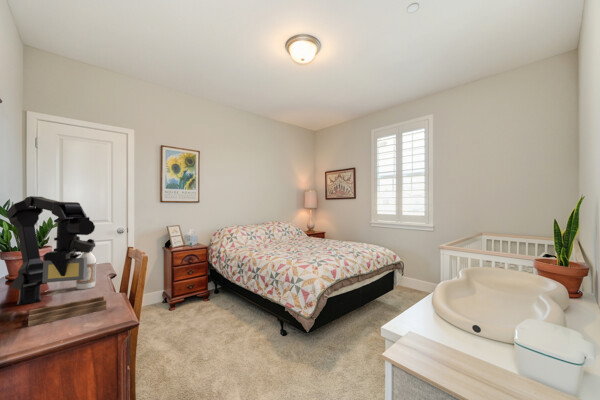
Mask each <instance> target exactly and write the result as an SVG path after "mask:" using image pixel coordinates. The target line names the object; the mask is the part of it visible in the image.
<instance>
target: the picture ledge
mask: <svg viewBox="0 0 600 400" xmlns="http://www.w3.org/2000/svg"><path fill="white" fill-rule="evenodd" d="M104 298H105V297H104V295H103V296H98V297H92V298H87V299H83V300H77V301H72V302H65V303H60V304H56V305H50V306H45V307H41V308H40V307H39V308H35V309H29V310H28V311H29V312H28V314H29V315H28V320H27V321H28V322H27V323H28V324H27V327H28V328H29V327H32V326H33V327H34V326H38V325H42V324H45V323H51V322H55V321H60V320H63V319H65V320H66V319H68V318H73V317H79V316H83V315H87V314H91V313H95V312H100V311H104V310H107V300H106V299H104Z"/></svg>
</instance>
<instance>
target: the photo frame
mask: <svg viewBox="0 0 600 400" xmlns="http://www.w3.org/2000/svg"><path fill="white" fill-rule="evenodd" d="M42 261H43V260H42ZM86 273H87V258H80V257H77V258H72V259H71V260H70V261H69V262H68V266H67V271H66V275H65V276H61V275H60V273H59V272H58V270H57V269H56V267H55V266H54V264H53V263H52V262H51V261H43V281H42V283H47V284H48V283H59V282H72V281H76V280H83V279H85V278H86Z"/></svg>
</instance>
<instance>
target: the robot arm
mask: <svg viewBox="0 0 600 400" xmlns="http://www.w3.org/2000/svg"><path fill="white" fill-rule="evenodd" d="M44 210H46V211H49V212H51V214H52V215H54V216H55V217H57V218H56V219H54V220H53V223H56V224H57V225H56V237H54V238H53V241H56V243H55V244H56V245H55V248H53V250H52V251H48V252H45V254H43V256H42V259H41V254H40V250H39V243H38V238H37V234H36V233H37V232H36V224H37V223H38V221H39V219H40V215H41V214H42V213H43V212H44ZM6 216H7V217H8V220H9V221H8V222H9V224H11V225H12V226H14V227H15V229H16V231H17V235H18V237H17V238H18V242H19V247H20V252H21V253H20V254H21V259H22V260H21V261H22V264H21V265H20V266H19V269H18V271H17V274H18V275H17V276H16V277H15V279H13V281H12V282H11V287H12V290H13V289H14V290H19V291H18V292H19V293H18V295H19V296H18V299H17V303H16V306H21V305H28V304H32V303H33V304H34V303H37V302H42V296H41V285H47V284H48V283H42V281H43V261H51V262H52V263H53V264H54V266H55V267H56V269H57V270H58V272H59V273H60V275H61V276H65V275H66V271H67V266H68V262H69V261H70V260H71V259H72V258H79V257H81V256H82V254H83V252H86V253H89V252H91V253H93V250H94V248H96V242H95V239H92V238H89V239H87V240H81V237H80V235H81V236H89V235H91V234H93V232H95V228H96V225H95V223H94V222H93V221H92V220H90V218H91V217H89V216H87V214H86V212H85V211H84V209H83V207H82V206H81V203H79V202H76V201H75V202H74V201H73V202H72V201H58V200H54V199H50V198H47V197H44V196H35V195H33V196H31V195H30V196H26V198H24V199H23V200H20V201H19V202H16V203H13V204H12V205H11V206H10V207H9V208H8V209H7V211H6ZM81 253H82V254H81Z"/></svg>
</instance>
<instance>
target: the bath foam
mask: <svg viewBox="0 0 600 400" xmlns="http://www.w3.org/2000/svg"><path fill="white" fill-rule="evenodd" d="M79 258H87V273H86V278H85V279H83V280H75V282H76V285H75V288H76V290H88V289H91V288H94V287H95V286H96V277H97V276H96V275H97V259H96V256H95V255H94V254H93V252H89V253H86V252H83V253H82V254H81V255H80V256H79Z"/></svg>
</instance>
